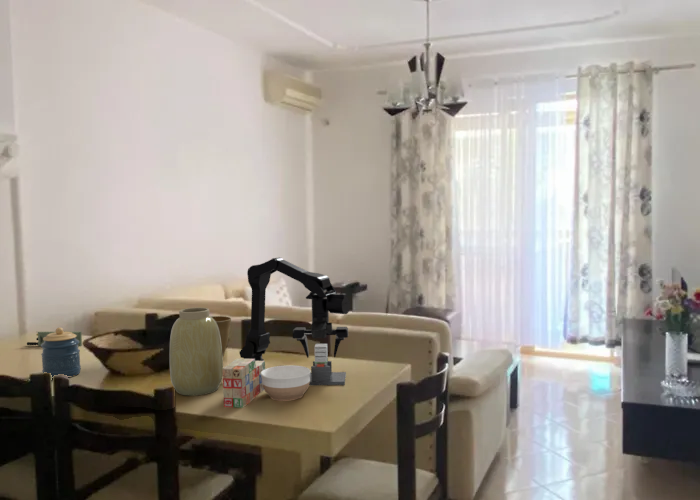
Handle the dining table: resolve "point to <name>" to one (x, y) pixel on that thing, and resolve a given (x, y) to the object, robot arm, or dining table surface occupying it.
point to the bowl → (286, 382)
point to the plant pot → (223, 330)
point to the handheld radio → (44, 334)
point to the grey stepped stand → (326, 375)
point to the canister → (61, 353)
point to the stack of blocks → (242, 382)
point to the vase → (195, 353)
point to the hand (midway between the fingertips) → (321, 357)
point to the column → (321, 354)
